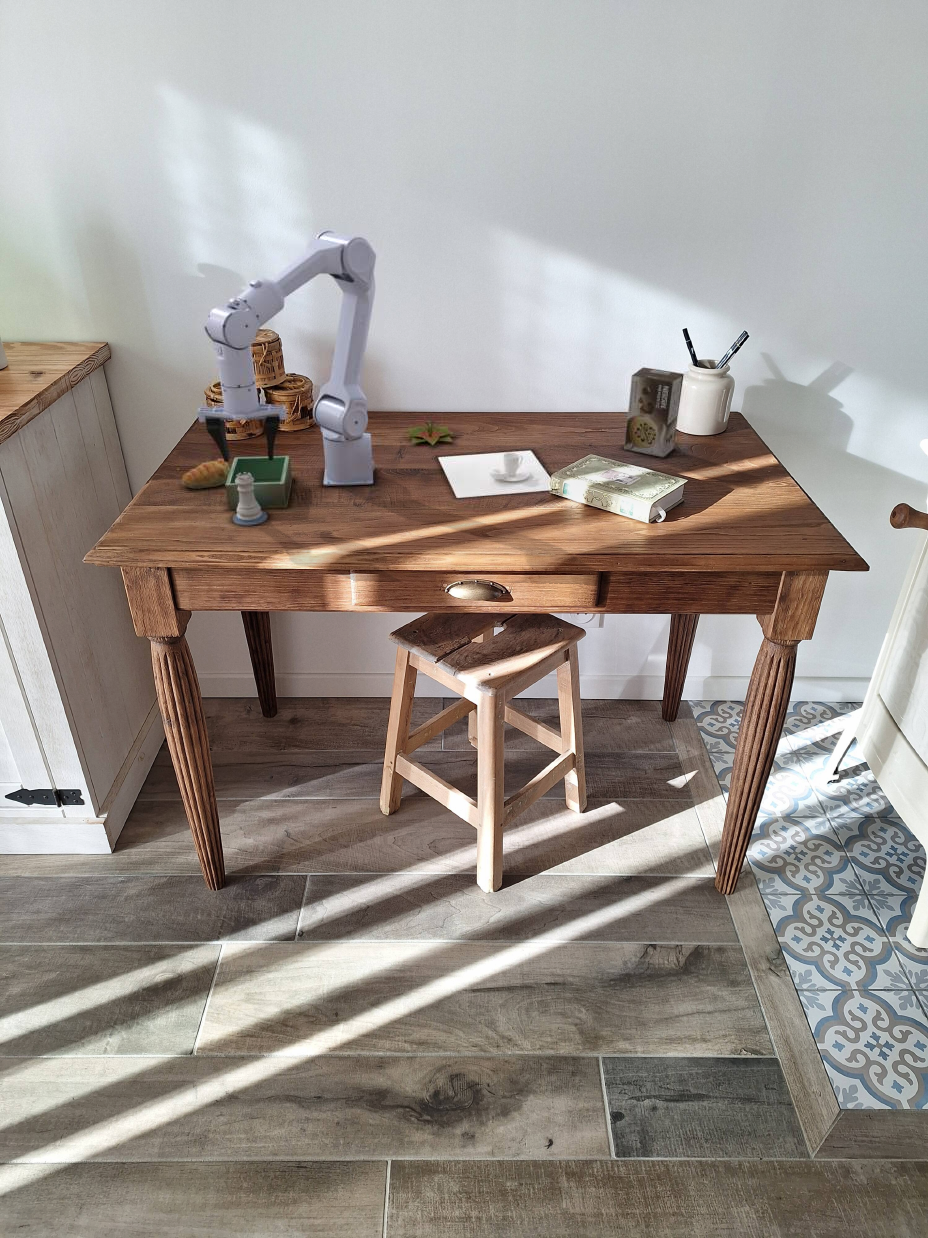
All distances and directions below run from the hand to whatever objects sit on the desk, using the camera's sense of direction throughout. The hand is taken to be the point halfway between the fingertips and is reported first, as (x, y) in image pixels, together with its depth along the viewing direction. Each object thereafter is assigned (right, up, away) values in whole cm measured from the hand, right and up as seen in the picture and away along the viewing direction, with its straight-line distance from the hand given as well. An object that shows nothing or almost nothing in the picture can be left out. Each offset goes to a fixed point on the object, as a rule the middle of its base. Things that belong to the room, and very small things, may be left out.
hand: (249, 458), depth 149 cm
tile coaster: (0, -10, +3) cm, 10 cm away
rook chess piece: (-1, -10, +3) cm, 10 cm away
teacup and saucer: (+44, +1, +20) cm, 49 cm away
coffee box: (+77, +8, +32) cm, 84 cm away
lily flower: (+30, +11, +36) cm, 49 cm away
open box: (0, -4, +11) cm, 12 cm away
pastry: (-11, -2, +16) cm, 20 cm away
